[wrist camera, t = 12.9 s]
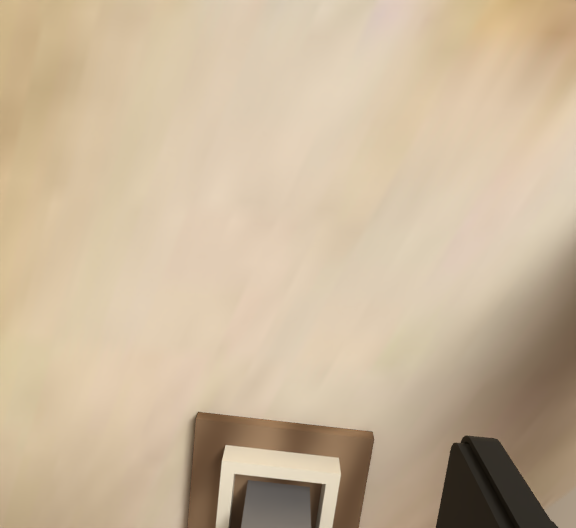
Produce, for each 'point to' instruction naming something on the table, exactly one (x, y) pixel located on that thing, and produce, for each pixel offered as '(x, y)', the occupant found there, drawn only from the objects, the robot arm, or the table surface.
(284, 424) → the brown piece
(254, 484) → the grey rectangular block
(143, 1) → the table surface
